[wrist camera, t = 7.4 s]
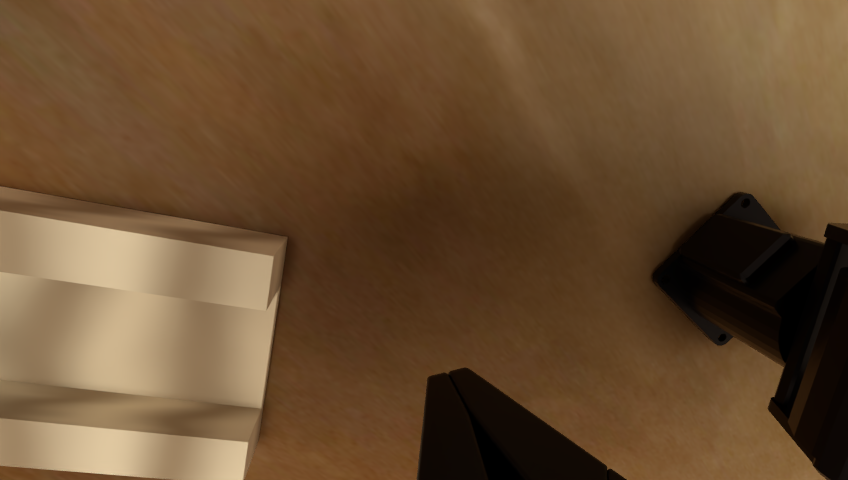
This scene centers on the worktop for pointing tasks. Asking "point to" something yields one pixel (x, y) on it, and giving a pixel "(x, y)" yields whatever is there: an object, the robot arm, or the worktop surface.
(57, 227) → the chute
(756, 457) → the worktop surface
